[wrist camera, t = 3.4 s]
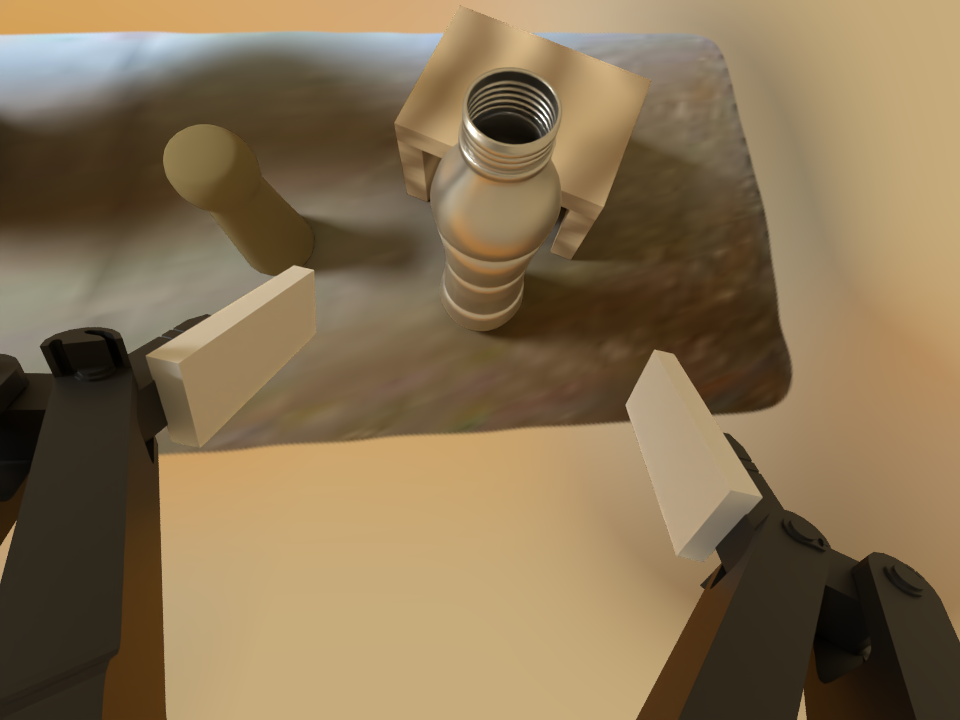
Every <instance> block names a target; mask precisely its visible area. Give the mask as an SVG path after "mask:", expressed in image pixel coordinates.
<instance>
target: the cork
mask: <svg viewBox="0 0 960 720" xmlns="http://www.w3.org/2000/svg"><path fill="white" fill-rule="evenodd" d="M163 164H164V169H165V173H166V177H167V178H168V180H169V181H170V183H171V184H172V186H173V187H174V188H175V190H176V191H177V192H178V194H180V195H181V196H182V197H183V198H184V199H186V200H187V201H189V202H190V203H192V204H193V205H195V206H197V207H199V208H201V209H203V210H207V211H209V212H210V213H211V215H212V216H213V217H214V219H215V220H216V221H217V222H218V224H219V225H220V226H221V228H222V229H223V230H224V232H225V233H226V234H227V236H228V237H229V238H230V239H231V241H232V242H233V243H234V245H235V246H236V247H237V249H238V250H239V251H240V253H241V254H242V255H243V256H244V258H245V259H246V260H247V262H248V263H249V264H250V266H251V267H253V268H254V269H256V270H257V271H259V272H260V273H264V274H268V275H279V274H281V273H282V272H284V271H286V270H287V269H289V268H291V267H292V266H294V265H295V266H299V267H302V266H303V265H304V264H305V263H306V261H307V260H308V259H309V258H310V256H311V254H312V251H313V249H314V235H313V232H312V229H311V227H310V226H309V225H308V224H307V222H306V221H305V220H304V219H303V218H302V217H301V216H300V215H299V214H298V213H297V212H296V211H295V210H294V209H293V208H292V207H291V206H290V205H289V204H288V203H287V202H286V201H285V200H284V199H283V198H282V197H281V196H280V195H279V194H278V193H277V192H276V191H275V190H274V189H273V188H272V187H271V186H270V185H269V184H268V183H267V181H266V180H265V179H264V178H263V177H262V176H261V171H260V168H259V165H258V162H257V158H256V156H255V155H254V153H253V152H252V150H251V149H250V148H249V146H248V145H247V144H246V143H245V141H243V140H242V139H241V138H240V137H239V136H237V135H236V134H234V133H233V132H231V131H229V130H227V129H225V128H222V127H219V126H215V125H211V124H198V125H194V126H190V127H187V128H185V129H183V130H181V131H180V132H178V133H177V134H176V135H175V136H173V137H172V138H171V139H170V140H169V142H168V144H167V146H166V148H165V150H164V156H163Z"/></svg>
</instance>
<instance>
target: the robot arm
mask: <svg viewBox="0 0 960 720" xmlns="http://www.w3.org/2000/svg"><path fill="white" fill-rule="evenodd" d="M315 334H316V316H315V280H314V270H312V269H308V268H303V267H299V266H295V265H294V266H292V267H291V268H289V269H287V270H286V271H284V272H282V273H281V274H279V275H277V276H276V277H274V278H272V279H271V280H269V281H268V282H266V283H264V284H263V285H261V286H259V287H258V288H256V289H254V290H253V291H251V292H249V293H248V294H246V295H245V296H243V297H241V298H240V299H238V300H236V301H235V302H233V303H231V304H230V305H228V306H227V307H225V308H223V309H222V310H220V311H218V312H217V313H215V314H213V315H208V314H206V315H203V316H199V317H196V318H192V319H189V320H187V321H185V322H183V323H182V324H180V325H178V326H176V327H175V328H174V329H173V330H169V331H168V332H166V333H164V334H163V335H162V337H157V338H156V339H154V340H152V341H150V342H149V343H147V344H145V345H144V346H142V347H140V348H138V349H137V350H135V351H133V352H131V353H130V354H127V351H126V348H125V345H124V342H123V339H122V337H121V335H120V333H119V332H117V331H115V330H113V329H108V328H101V327H87V328H79V329H73V330H68V331H65V332H61V333H58V334H55V335H53V336H52V337H50V338H48V339H46V340H45V341H44V342H43V343H42V344H41V345H40V348H41V350H42V352H43V354H44V357H45V359H46V361H47V363H48V365H49V367H50V369H51V371H52V374H41V373H24V371H23V369H22V367H21V365H20V363H19V362H18V360H17V359H16V358H15V357H12V356H9V355H6V354H0V545H1V544H2V542H3V540H4V539H5V537H6V536H7V534H8V533H9V531H10V530H11V528H12V526H13V525H14V523H15V521H16V520H17V522H16V526H15V529H14V533H13V537H12V541H11V545H10V549H9V552H8V556H7V560H6V564H5V568H4V572H3V575H2V579H1V583H0V720H167V719H166V705H165V669H164V635H163V601H162V567H161V532H160V501H159V500H160V498H159V465H158V464H159V463H158V443H157V440H156V437H155V435H156V434H157V433H158V432H160V431H161V430H162V429H163V428H164V427H166V426H167V427H168V431H169V434H170V437H171V441H172V442H175V443H179V444H184V445H188V446H193V447H197V448H201V447H202V446H203V445H204V444H205V443H206V442H207V441H208V440H209V439H210V438H211V437H212V436H213V435H214V434H215V433H216V432H217V431H218V430H219V429H220V428H221V427H222V426H223V425H224V424H225V423H226V422H227V421H228V420H229V419H230V418H231V417H232V416H233V415H234V414H235V413H236V412H237V411H238V410H239V409H240V408H241V407H242V406H243V405H244V404H245V403H246V402H247V401H248V400H249V399H250V398H251V397H252V396H253V395H254V394H255V393H256V392H257V391H258V390H259V389H261V388H262V387H263V386H264V385H265V384H266V383H267V382H268V381H269V380H270V379H271V378H272V377H273V376H274V375H275V374H276V373H277V372H278V371H279V370H280V369H281V368H282V367H283V366H284V365H285V364H286V363H287V362H288V361H289V360H290V359H291V358H292V357H293V356H294V355H295V354H296V353H297V352H298V351H299V350H300V349H301V348H302V347H303V346H304V345H305V344H306V343H307V342H308V341H309V340H310V339H311V338H312V337H313V336H314V335H315ZM626 408H627V411H628V414H629V417H630V420H631V423H632V426H633V429H634V432H635V435H636V438H637V441H638V444H639V447H640V450H641V453H642V456H643V459H644V462H645V464H646V468H647V470H648V473H649V476H650V479H651V482H652V485H653V488H654V491H655V494H656V497H657V500H658V503H659V506H660V509H661V512H662V515H663V518H664V521H665V523H666V527H667V530H668V533H669V536H670V538H671V541H672V544H673V547H674V550H675V553H676V556H678V557H683V558H687V559H692V560H696V561H701V562H704V561H705V560H706V559H707V558H708V557H709V556H710V555H711V553H713V551H714V550H715V549H716V551H717V553H718V555H719V557H720V560H721V562H722V563H721V564H720V565H719V566H718V567H717V568H716V569H715V571H714V572H713V573H712V574H711V575H710V576H709V577H708V578H707V579H706V580H705V581H704V582H703V583H702V584H701V585H700V586H702V587H703V588H704V589H705V590H704V592H703V593H702V595H701V598H700V599H699V601H698V603H697V605H696V607H695V609H694V611H693V612H692V614H691V616H690V618H689V620H688V622H687V624H686V626H685V628H684V630H683V631H682V634H681V635H680V637H679V639H678V641H677V643H676V645H675V647H674V649H673V651H672V652H671V655H670V656H669V658H668V660H667V662H666V664H665V666H664V668H663V669H662V671H661V673H660V675H659V677H658V679H657V681H656V683H655V685H654V687H653V688H652V690H651V692H650V694H649V696H648V698H647V700H646V702H645V704H644V706H643V707H642V709H641V711H640V713H639V715H638V717H637V719H636V720H797V716H798V712H799V707H800V702H801V697H802V692H803V688H804V696H805V706H806V716H807V720H960V642H959V639H958V637H957V635H956V633H955V630H954V628H953V626H952V624H951V621H950V620H949V617H948V615H947V612H946V610H945V608H944V606H943V604H942V601H941V599H940V598H939V596H938V595H937V593H936V592H935V590H934V589H933V588H932V587H931V585H929V583H928V582H927V581H926V580H925V579H924V578H923V577H922V576H921V575H920V574H919V573H918V572H915V571H914V569H913V568H911V567H910V566H908V565H906V564H904V563H903V562H901V561H899V560H897V559H896V558H894V557H891V556H889V555H886V554H884V553H877V552H873V553H871V554H870V555H868V556H867V557H866V558H864V559H863V560H862V561H860V562H858V561H856V560H854V559H852V558H850V557H848V556H846V555H843V554H841V553H839V552H837V551H835V550H833V549H831V547H830V545H829V543H828V542H827V540H826V538H825V537H824V536H823V535H822V534H821V533H820V531H818V529H817V528H816V527H815V526H813V525H812V524H811V523H809V522H808V521H807V520H805V519H804V518H802V517H801V516H799V515H797V514H795V513H793V512H790V511H787V510H784V509H783V507H782V506H781V504H780V502H779V501H778V500H777V498H776V497H775V495H774V493H773V492H772V490H771V489H770V487H769V486H768V484H767V483H766V481H765V480H764V478H763V477H762V475H761V474H759V473H758V472H759V471H758V469H757V468H756V466H755V464H754V463H752V462H751V461H752V460H751V458H750V457H749V455H748V454H747V452H746V451H745V449H744V448H743V447H742V446H741V445H740V444H739V443H738V442H737V441H736V440H735V439H734V438H733V437H732V436H731V435H730V434H727V433H723V432H722V431H721V429H720V428H719V426H718V424H717V423H716V421H715V419H714V418H713V416H712V415H711V413H710V411H709V410H708V408H707V407H706V405H705V403H704V402H703V400H702V399H701V397H700V395H699V394H698V392H697V390H696V389H695V387H694V386H693V384H692V382H691V381H690V379H689V378H688V376H687V374H686V373H685V371H684V370H683V368H682V366H681V365H680V363H679V361H678V360H677V358H676V357H675V355H674V354H671V353H667V352H663V351H659V350H654V351H653V353H652V355H651V357H650V359H649V361H648V363H647V365H646V367H645V368H644V370H643V372H642V374H641V376H640V378H639V380H638V382H637V384H636V386H635V388H634V390H633V392H632V394H631V395H630V397H629V399H628V401H627V403H626Z"/></svg>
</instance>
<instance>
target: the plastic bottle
mask: <svg viewBox="0 0 960 720" xmlns="http://www.w3.org/2000/svg"><path fill="white" fill-rule="evenodd" d="M561 117H562V104H561V100H560V97H559V95H558V93H557V91H556V90H555V88H554V87H553V86H552V85H551V84H550V83H549V82H548V81H547V80H546V79H545V78H543V77H542V76H540V75H538V74H536V73H534V72H532V71H529V70H526V69H522V68H515V67H503V68H498V69H493V70H490V71H488V72H485V73H484V74H482V75H480V76H479V77H477V78H476V79H475V80H474V81H473V82H472V83H471V85H470V86H469V87H468V89H467V91H466V94H465V96H464V100H463V106H462V121H461V123H460V127H459V135H458V143H457V144H455V145H454V146H453V147H452V148H451V149H450V150H449V151H448V152H447V153H446V154H445V155H444V157H443V158H442V160H441V161H440V163H439V165H438V168H437V170H436V173H435V175H434V178H433V181H432V184H431V190H430V203H431V209H432V213H433V217H434V220H435V224H436V226H437V229H438V232H439V234H440V237H441V240H442V242H443V245H444V251H445V256H446V265H445V270H444V272H443V275H442V279H441V285H440V298H441V301H442V304H443V306H444V308H445V310H446V311H447V313H448V314H449V316H450V317H451V318H452V319H453V320H454V321H455V322H456V323H457V324H459V325H460V326H462V327H464V328H466V329H470V330H473V331H489V330H493V329H496V328H498V327H500V326H502V325H503V324H505V323H506V322H507V321H509V320H510V319H511V318H512V317H513V316H514V315H515V314H516V313H517V311H518V309H519V307H520V306H521V303H522V299H523V291H524V275H525V270H526V268H527V266H528V264H529V262H530V260H531V258H532V257H533V256H534V254H535V253H536V252H537V250H538V249H539V248H540V246H541V245H542V244H543V242H544V241H545V240H546V239H547V237H548V235H549V234H550V232H551V230H552V228H553V227H554V225H555V223H556V222H557V219H558V216H559V213H560V210H561V185H560V178H559V175H558V172H557V170H556V167H555V165H554V163H553V161H552V159H551V157H552V154H553V151H554V148H555V144H556V135H557V132H558V129H559V126H560V123H561Z"/></svg>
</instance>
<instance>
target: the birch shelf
mask: <svg viewBox="0 0 960 720" xmlns="http://www.w3.org/2000/svg"><path fill="white" fill-rule="evenodd" d="M503 67H515V68H522V69H526V70H529V71H532V72H534V73H536V74H538V75H540V76H542V77H543V78H545V79H546V80H547V81H548V82H549V83H550V84H551V85H552V86H553V87H554V88H555V90H556V91H557V93H558V95H559V97H560V100H561V104H562V117H561V123H560V126H559V129H558V132H557V135H556V144H555V148H554V151H553V154H552V157H551V159H552V161H553V163H554V165H555V167H556V170H557V172H558V175H559V178H560V185H561V206H562V207H564V208H567V211H566V213H565V216H564V218H563V221H562V223H561V225H560V228H559V230H558V233H557V235H556V238H555V240H554V243H553V245H552V248H551V250H550V252H552V253H554V254H557V255H559V256H562V257H564V258H567V259H569V260H571V258H572V257H573V255H574V254H575V252H576V250H577V249H578V247H579V246H580V244H581V243H582V241H583V239H584V238H585V236H586V235H587V233H588V231H589V230H590V228H591V227H592V225H593V223H594V222H595V220H596V219H597V217H598V215H599V214H600V212H601V211H602V209H603V207H604V205H605V202H606V200H607V197H608V194H609V192H610V189H611V186H612V184H613V181H614V179H615V176H616V173H617V171H618V168H619V165H620V163H621V160H622V157H623V155H624V152H625V150H626V147H627V144H628V142H629V139H630V136H631V134H632V131H633V128H634V126H635V123H636V121H637V118H638V115H639V113H640V110H641V107H642V105H643V102H644V100H645V97H646V94H647V92H648V89H649V86H650V84H651V80H649V79H646V78H644V77H641V76H639V75H636V74H634V73H631V72H628V71H626V70H623V69H621V68H618V67H616V66H613V65H611V64H608V63H606V62H603V61H600V60H598V59H595V58H593V57H590V56H588V55H585V54H583V53H580V52H578V51H575V50H572V49H570V48H567V47H565V46H562V45H560V44H557V43H555V42H552V41H550V40H547V39H544V38H542V37H539V36H537V35H534V34H532V33H529V32H526V31H524V30H521V29H519V28H516V27H514V26H511V25H509V24H506V23H504V22H501V21H499V20H496V19H494V18H491V17H488V16H486V15H483V14H481V13H478V12H475V11H473V10H470V9H468V8H466V7H463V6H459V8H458V10H457V12H456V13H455V15H454V17H453V18H452V20H451V22H450V24H449V26H448V28H447V29H446V31H445V33H444V35H443V36H442V38H441V40H440V42H439V44H438V45H437V47H436V49H435V51H434V52H433V54H432V56H431V58H430V60H429V61H428V63H427V65H426V67H425V69H424V70H423V72H422V74H421V76H420V78H419V79H418V81H417V83H416V85H415V86H414V88H413V90H412V92H411V94H410V95H409V97H408V99H407V101H406V103H405V104H404V106H403V108H402V110H401V112H400V113H399V115H398V117H397V119H396V120H395V122H394V125H395V131H396V136H397V141H398V147H399V152H400V157H401V163H402V168H403V174H404V179H405V184H406V190H407V194H409V195H411V196H414V197H416V198H419V199H421V200H424V201H426V202H428V200H429V198H430V190H431V184H432V181H433V178H434V175H435V173H436V170H437V168H438V165H439V163H440V161H441V160H442V158H443V157H444V155H445V154H446V153H447V152H448V151H449V150H450V149H451V148H452V147H453V146H454V145H455V144H457V143H458V135H459V127H460V123H461V121H462V106H463V100H464V96H465V94H466V91H467V89H468V87H469V86H470V85H471V83H472V82H473V81H474V80H475V79H476V78H477V77H479V76H480V75H482V74H484V73H485V72H488V71H490V70H493V69H498V68H503Z"/></svg>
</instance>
